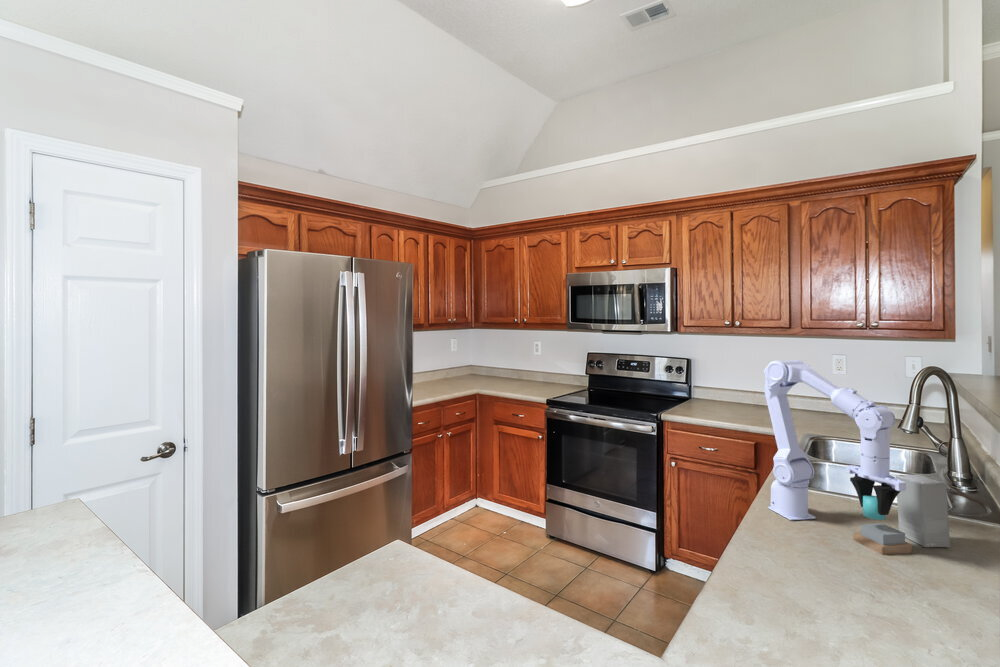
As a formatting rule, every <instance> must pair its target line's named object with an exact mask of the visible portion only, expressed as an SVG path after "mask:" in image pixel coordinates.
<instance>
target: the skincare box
mask: <svg viewBox="0 0 1000 667" xmlns="http://www.w3.org/2000/svg"><path fill="white" fill-rule="evenodd" d="M895 478H897V479H899V480H901V481H903V482H906V491H901V492H900V493H899V494H898V495H897V496H896V504H897V519H898V530H899V531H901V532H903V533H905V539H908V540H910V541H912V542H914V543H916V544H918V545H919V546H921V547H924V548H950V546H951V537H950V522H949V510H948V495H947V493H948V492H947V483H946V482H943V481H940V480H937V479H933V478H931V477H928V476H925V475H923V474H900V475H899V474H898V475H895Z"/></svg>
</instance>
